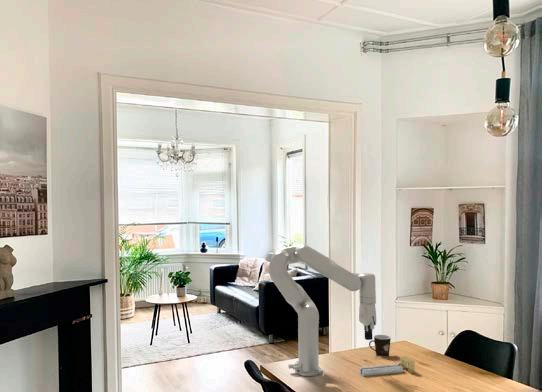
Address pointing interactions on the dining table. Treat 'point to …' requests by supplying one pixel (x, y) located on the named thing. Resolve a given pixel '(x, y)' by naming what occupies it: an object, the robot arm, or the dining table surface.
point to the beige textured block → (411, 364)
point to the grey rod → (378, 367)
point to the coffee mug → (381, 345)
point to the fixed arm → (382, 370)
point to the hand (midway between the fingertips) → (368, 339)
